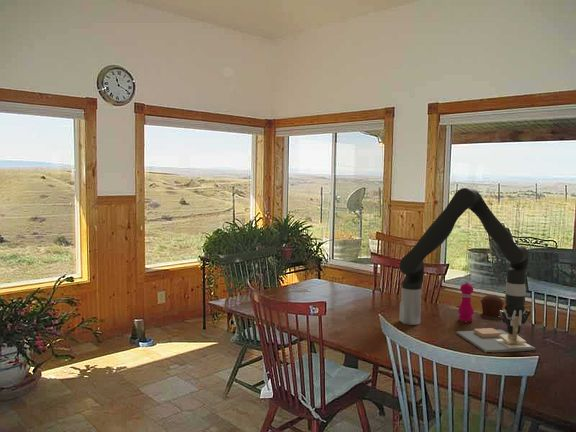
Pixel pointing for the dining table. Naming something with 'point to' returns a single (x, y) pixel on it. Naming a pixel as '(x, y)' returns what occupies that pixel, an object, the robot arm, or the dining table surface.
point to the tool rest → (513, 344)
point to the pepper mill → (466, 303)
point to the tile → (487, 332)
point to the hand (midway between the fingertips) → (513, 333)
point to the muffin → (492, 305)
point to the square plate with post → (513, 337)
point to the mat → (489, 342)
